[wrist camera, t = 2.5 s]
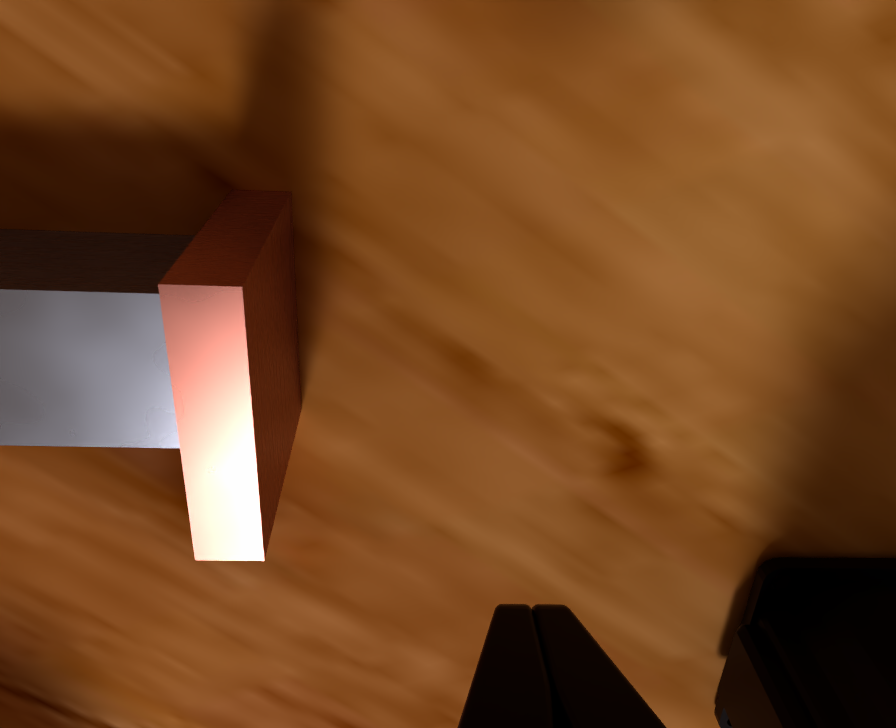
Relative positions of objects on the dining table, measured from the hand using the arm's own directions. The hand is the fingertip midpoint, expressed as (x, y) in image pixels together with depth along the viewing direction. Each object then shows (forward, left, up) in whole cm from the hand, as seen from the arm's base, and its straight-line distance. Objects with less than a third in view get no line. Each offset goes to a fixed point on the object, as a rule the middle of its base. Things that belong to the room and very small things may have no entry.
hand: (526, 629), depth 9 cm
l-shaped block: (+9, 0, -9) cm, 13 cm away
